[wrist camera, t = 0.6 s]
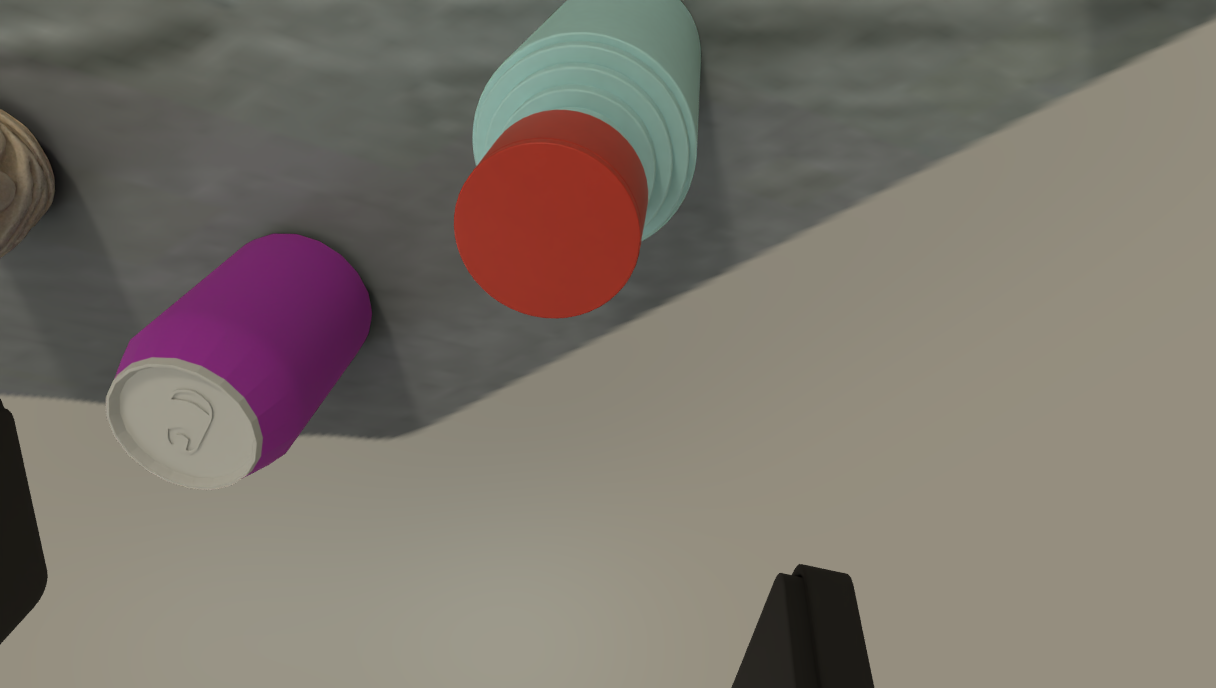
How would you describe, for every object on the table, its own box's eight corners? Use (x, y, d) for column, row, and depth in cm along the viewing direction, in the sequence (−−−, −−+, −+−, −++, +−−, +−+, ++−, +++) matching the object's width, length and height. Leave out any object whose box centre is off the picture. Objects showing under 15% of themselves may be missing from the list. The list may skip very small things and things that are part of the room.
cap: (491, 92, 20) (462, 123, 18) (664, 129, 20) (658, 165, 18) (474, 251, 22) (446, 298, 20) (630, 284, 22) (621, 335, 20)
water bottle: (560, -41, 34) (417, 52, 18) (717, -8, 34) (725, 117, 18) (538, 116, 38) (400, 321, 21) (681, 147, 38) (659, 377, 21)
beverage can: (354, 379, 46) (251, 530, 36) (220, 319, 45) (74, 457, 35) (398, 267, 42) (297, 399, 32) (252, 199, 41) (100, 313, 31)
